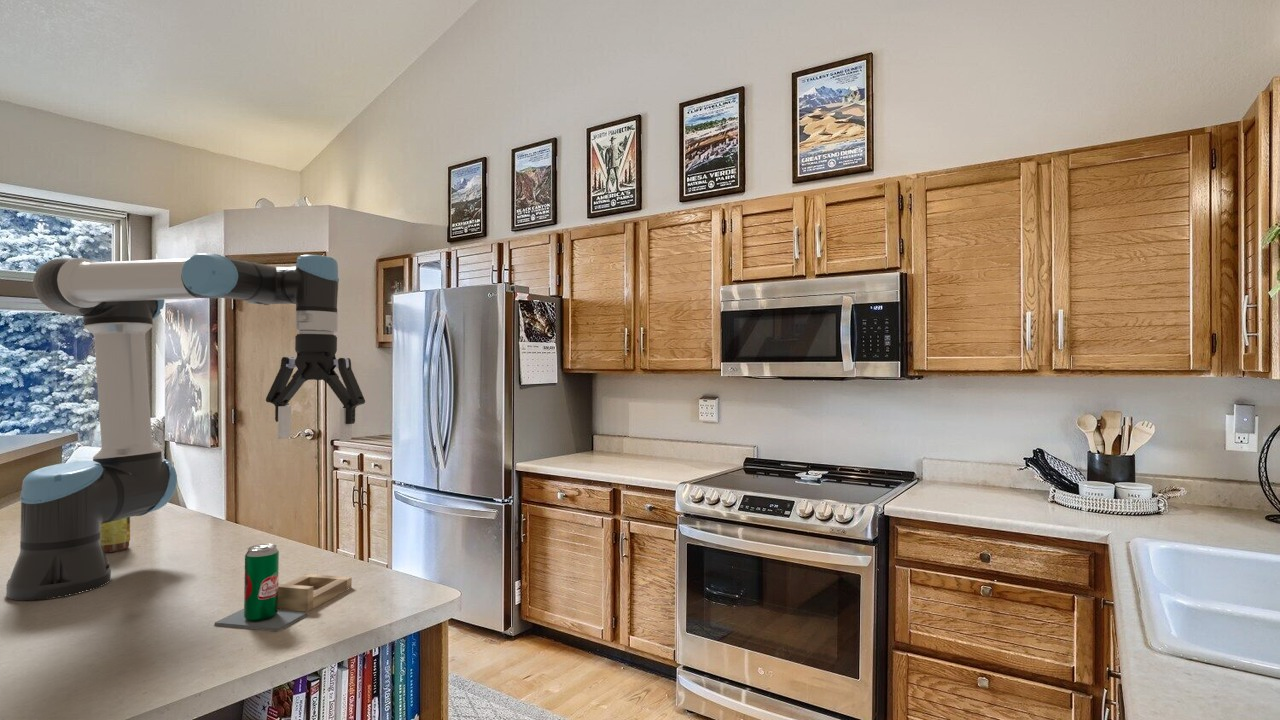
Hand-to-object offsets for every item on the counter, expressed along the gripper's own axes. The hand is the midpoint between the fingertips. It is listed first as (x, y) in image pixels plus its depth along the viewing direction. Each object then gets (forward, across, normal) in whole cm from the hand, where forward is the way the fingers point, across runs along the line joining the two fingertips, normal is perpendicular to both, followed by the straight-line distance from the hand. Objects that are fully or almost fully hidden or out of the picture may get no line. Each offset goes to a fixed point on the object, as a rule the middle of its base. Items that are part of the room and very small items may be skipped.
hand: (314, 439), depth 132 cm
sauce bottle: (+29, -59, +11) cm, 67 cm away
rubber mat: (+29, +4, -18) cm, 34 cm away
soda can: (+28, +4, -18) cm, 34 cm away
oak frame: (+29, +4, -7) cm, 30 cm away
